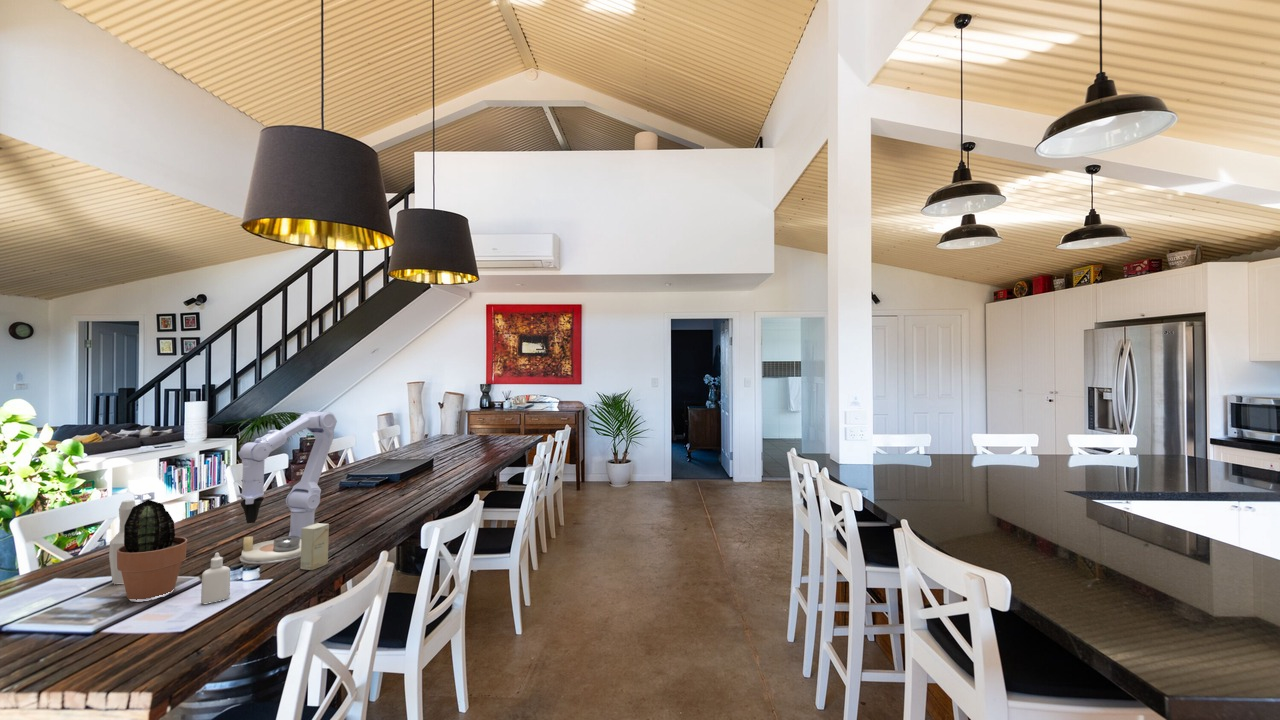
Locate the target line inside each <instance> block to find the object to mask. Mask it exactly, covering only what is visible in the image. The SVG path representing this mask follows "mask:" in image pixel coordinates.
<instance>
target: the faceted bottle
mask: <svg viewBox="0 0 1280 720" xmlns="http://www.w3.org/2000/svg"><path fill="white" fill-rule="evenodd" d="M136 505H137V504H136V503H135V500H134V499H128V500H122V501H121V503H120V505H119V508H118V515H119V529H118V533H117V534H116V535H115V536H114V537H113V538H112V539H111V540H110V541H109V552H108V553H109V554H108V557H109V560H108V561H109V565H110V566H109V567H110V574H111V580H112V582H111V583H112V584H113V583H114V585H115V584H117V583H124V581H123V577H122V573H121V571H119V570H118V569H117V549H118V548H119V547H121V546H123V545H124V525H125V523H126V521H127V519H128V517H129V514H130V512H131V510H132V508H133V507H134V506H136Z"/></svg>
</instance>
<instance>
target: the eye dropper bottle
mask: <svg viewBox="0 0 1280 720" xmlns="http://www.w3.org/2000/svg"><path fill="white" fill-rule="evenodd" d="M223 562H224V557H223V556H220V553H219V552H215V554H214V557H212V558H211V559H210V568H208V569H206V570H204V571H203V572H202V575H201V589H200V590H201V592H200V593H201V596H200V602H201V604H203V603H209V602H215V601H219V600H223V599H226V600H228V599H230V594H231V593H230V591H231V569H230V567H229V566H225V565H224V563H223ZM227 598H228V599H227ZM223 601H224V600H223Z"/></svg>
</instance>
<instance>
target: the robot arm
mask: <svg viewBox="0 0 1280 720" xmlns="http://www.w3.org/2000/svg"><path fill="white" fill-rule="evenodd" d="M337 423H338V420H337V418H336V417H335V414H334V413H333V412H331V411H326V412H325V411H324V412H323V411H313V410H308V411H306V412H305V413H302V414H301V415H300V416H299V417H298V418H296V419H295V420H294V421H292V422H291V423H289V424H288V425H286V426H285V427H283V428H282V429H280V430H279V429H270V430H268V431H267V434H264V435H263V436H261V437H257V438H255V440H254V441H253V442H251V441H249V442H246V443H245V444H243V445H242V446H241V447H240V450H239V451H238V453H237V454H238V457H239V458H240V459H241V464H242V477H241V478H242V481H241V493H237V495H236V496H237V497H236V498H242V499H243V500H241V501H240V506H241V507H242V509H243V512H244V516H245V521H246V524H255V523H256V521H257V519H258V515H259V511H260V507H261V505H262V503H263V501H264V498H265V497H263V496H264V495H265V492H264V488H265V487H264V484H265V482H264V481H265V462H266V461H265V460H267V458H269V455H270V453H272V452H273V451H275V450H277V449H278V448H280V447H281V446H284V445H285V444H286V443H287V439H288V438H290V437H292V436H294V435H296V434H298V433H300V432H301V431H303V430H305V429H306V430H307V431H309V432H310V434H312V435H313V437H314V439H315V440H314V443H313V445H312V448H311V450H310V453H309V456H308V459H307V462H306V465H305V467H304V470H303V473H302V475H301V479H300V481H298V482H297V483H296V484H294V485H293V486H292V488H291V491H290V492H289V493H287V496H286V498H285V503H286V506H287V507H288V508H289V511H290V522H289V523H290V526H289V527H290V528H289V533H288V536H299V537H300V539H301V538H302V528H304V527H307V526H310V525H313V524H315V512H316V510H317V507H318V506H319V505H320V503H321V493H322V489H321V487H320V486H319V485H318V483H319V481H320V478H321V474H322V471H323V469H324V466H325V464H326V460H327V458H328V455H329V452H330V449H331V446H332V444H333V440H334V437H335V428H336V425H337Z"/></svg>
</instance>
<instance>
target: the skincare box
mask: <svg viewBox="0 0 1280 720" xmlns="http://www.w3.org/2000/svg"><path fill="white" fill-rule="evenodd" d="M329 529H330V524H329V523H322V522H321V523H319V522H317V523H314V524H313V525H310V526H307V527H304V528H302V538H300V539H301V557H300V567H299V568H300V570H305V571H314V570H316V569H318V568H321V567H324V566H325V565H328V564H329V563H328V562H329V533H330V531H329Z"/></svg>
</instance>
